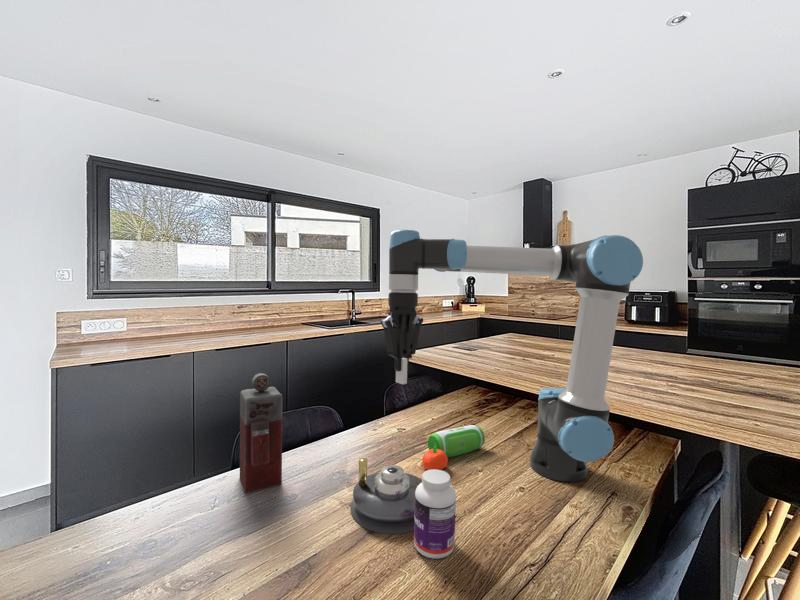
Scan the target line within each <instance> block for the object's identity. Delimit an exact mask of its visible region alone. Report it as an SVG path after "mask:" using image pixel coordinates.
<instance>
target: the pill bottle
mask: <svg viewBox="0 0 800 600" xmlns="http://www.w3.org/2000/svg"><path fill="white" fill-rule="evenodd" d="M421 475H422V476H421V479H422V483H420V484H419V485H418V486H417V488H416V491H415V519H414V531H413V544H414V547H415V549H416V550H417V551H418V553H420V555H422V556H424V557H425V558H429V559H435V560H436V559H443V558H446V557H447V556H449V555H451V553H452V552H453V550H454V548H455V542H456V539H455V538H456V535H455V534H456V509H457V508H456V505H457V504H456V503H457V493H456V491H455V488H454V487H453V486H452V485H451V476H450V474H449V473H448V472H447V471H445V470H443V469H442V470H436V469H432V470H427V469H426V470H425V471H424V472H423V473H422V474H421Z"/></svg>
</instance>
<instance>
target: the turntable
mask: <svg viewBox="0 0 800 600" xmlns="http://www.w3.org/2000/svg"><path fill="white" fill-rule="evenodd" d="M379 473H381V471H380V472H376V473H372V474H369V475H368V458H366V457H361V458H359V459H358V482H356V484H355V486H354V487H353V490H352V501H353V505H354V507H355V509H356V510H357V512H358V513H359V514H361V515H362V516H363V517H365V518H367V519H369V520H372V521H375V522H379V523H386V524H399V523H406V522H410V521H413V520H414V519H415V491H416V488H417V486H418V485H419V484H420V483H422V478H420V477H418V476H417V475H413V474H411V473H409V472H405V471H404V473H405V474H406V475H408V477H409V495H408V496H407V497H406V498H405V499H403V500H400V501H393V502H391V501H384V500H381V499H379V498H378V497H377V496H376V495H375V477H376V475H377V474H379Z"/></svg>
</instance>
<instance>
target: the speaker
mask: <svg viewBox="0 0 800 600" xmlns="http://www.w3.org/2000/svg"><path fill="white" fill-rule="evenodd" d="M485 438H486V437H485V433H484V431H483V429H482V427H480V426H478V425H474V424H471V425H470V424H469V425H465V426H459V427H456V428H450V429H444V430H441V431H436V432H433V433H432V434H430V435H429V436H428V439H427V447H428V448H427V449H428V451H429V450H431V449H433V447H434V446H435V447H436V449H439V450H442V451H443V452H444V453H445V454H446V456H447V458H452V457H457V456H460V455H463V453H464V454H467V453H466V452H468V453H471V452H472V451H476V450H478V449H480V448H481V447H483V445H484V444H485V440H486V439H485Z"/></svg>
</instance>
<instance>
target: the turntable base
mask: <svg viewBox="0 0 800 600" xmlns="http://www.w3.org/2000/svg"><path fill="white" fill-rule="evenodd" d="M350 515H351V516H352V519H353V520H354V521H355V523H356V524H358V525H359V526H360V527H362V528H364V529H366V530H368V531H371V532H374V533H378V534H383V535H401V534H407V533H411V532H414V520H413V521H410V522H406V523H399V524H386V523H379V522H375V521H372V520H369V519H367V518H365V517H363V516H362V515H361V514H359V513H358V512H357V510H356V509H355V507H354V505H353V500H352V501H351V503H350Z"/></svg>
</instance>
